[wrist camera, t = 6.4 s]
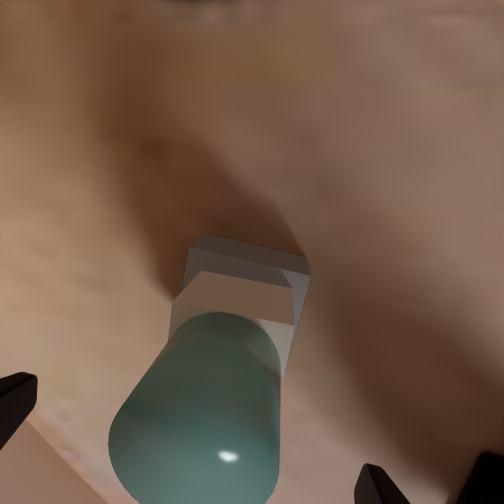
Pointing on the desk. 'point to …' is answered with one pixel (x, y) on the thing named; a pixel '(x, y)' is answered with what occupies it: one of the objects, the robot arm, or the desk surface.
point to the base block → (250, 266)
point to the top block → (239, 306)
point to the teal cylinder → (203, 418)
